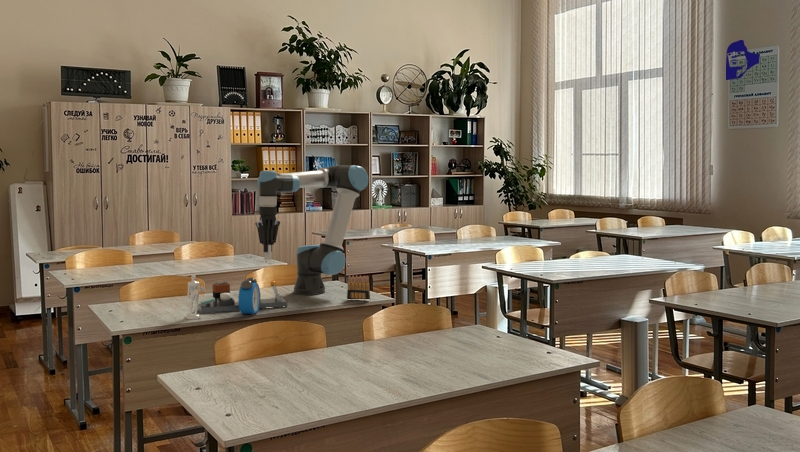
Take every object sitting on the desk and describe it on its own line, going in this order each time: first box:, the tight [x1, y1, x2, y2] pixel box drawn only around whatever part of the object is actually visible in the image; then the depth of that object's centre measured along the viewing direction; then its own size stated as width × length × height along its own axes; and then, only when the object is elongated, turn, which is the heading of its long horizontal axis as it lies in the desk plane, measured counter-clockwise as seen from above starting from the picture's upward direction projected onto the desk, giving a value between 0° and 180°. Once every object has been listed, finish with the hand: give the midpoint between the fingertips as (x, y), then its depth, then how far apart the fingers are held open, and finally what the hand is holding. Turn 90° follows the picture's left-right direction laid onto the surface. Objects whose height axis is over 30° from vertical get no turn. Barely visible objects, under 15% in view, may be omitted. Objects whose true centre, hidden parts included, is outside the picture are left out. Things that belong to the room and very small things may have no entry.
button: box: [220, 292, 232, 301], centre depth 320 cm, size 4×4×3 cm
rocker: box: [199, 297, 216, 305], centre depth 317 cm, size 6×3×1 cm, turn 111°
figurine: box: [184, 274, 205, 320], centre depth 304 cm, size 8×7×18 cm
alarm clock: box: [237, 277, 261, 315], centre depth 312 cm, size 13×6×15 cm, turn 176°
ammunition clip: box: [346, 274, 371, 300], centre depth 340 cm, size 11×2×12 cm, turn 76°
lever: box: [270, 280, 279, 299], centre depth 327 cm, size 3×3×8 cm
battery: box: [212, 280, 231, 303], centre depth 332 cm, size 4×7×10 cm, turn 121°
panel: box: [198, 293, 288, 314], centre depth 323 cm, size 37×9×5 cm, turn 111°
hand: (267, 259), depth 324 cm, fingers closed
